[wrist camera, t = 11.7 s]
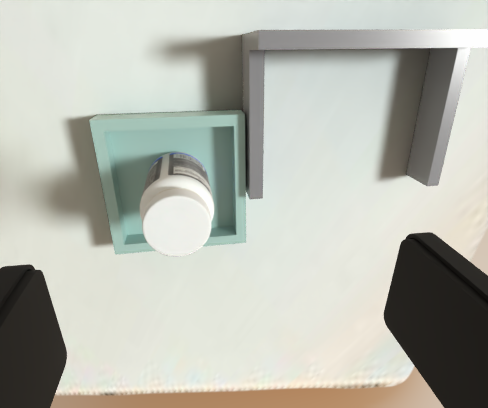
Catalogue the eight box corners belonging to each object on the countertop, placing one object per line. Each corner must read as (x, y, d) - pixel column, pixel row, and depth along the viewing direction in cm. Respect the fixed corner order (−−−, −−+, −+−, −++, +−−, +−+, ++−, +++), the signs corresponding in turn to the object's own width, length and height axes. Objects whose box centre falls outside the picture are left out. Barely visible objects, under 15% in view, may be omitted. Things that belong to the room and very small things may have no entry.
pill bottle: (164, 214, 28) (158, 274, 21) (136, 164, 26) (118, 210, 19) (217, 192, 28) (229, 244, 21) (193, 140, 26) (197, 177, 19)
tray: (96, 114, 25) (89, 120, 23) (240, 109, 26) (244, 114, 24) (119, 240, 29) (115, 254, 27) (242, 230, 31) (246, 242, 29)
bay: (242, 34, 24) (258, 30, 19) (445, 33, 27) (511, 29, 21) (243, 185, 29) (257, 216, 24) (416, 173, 31) (464, 199, 26)
